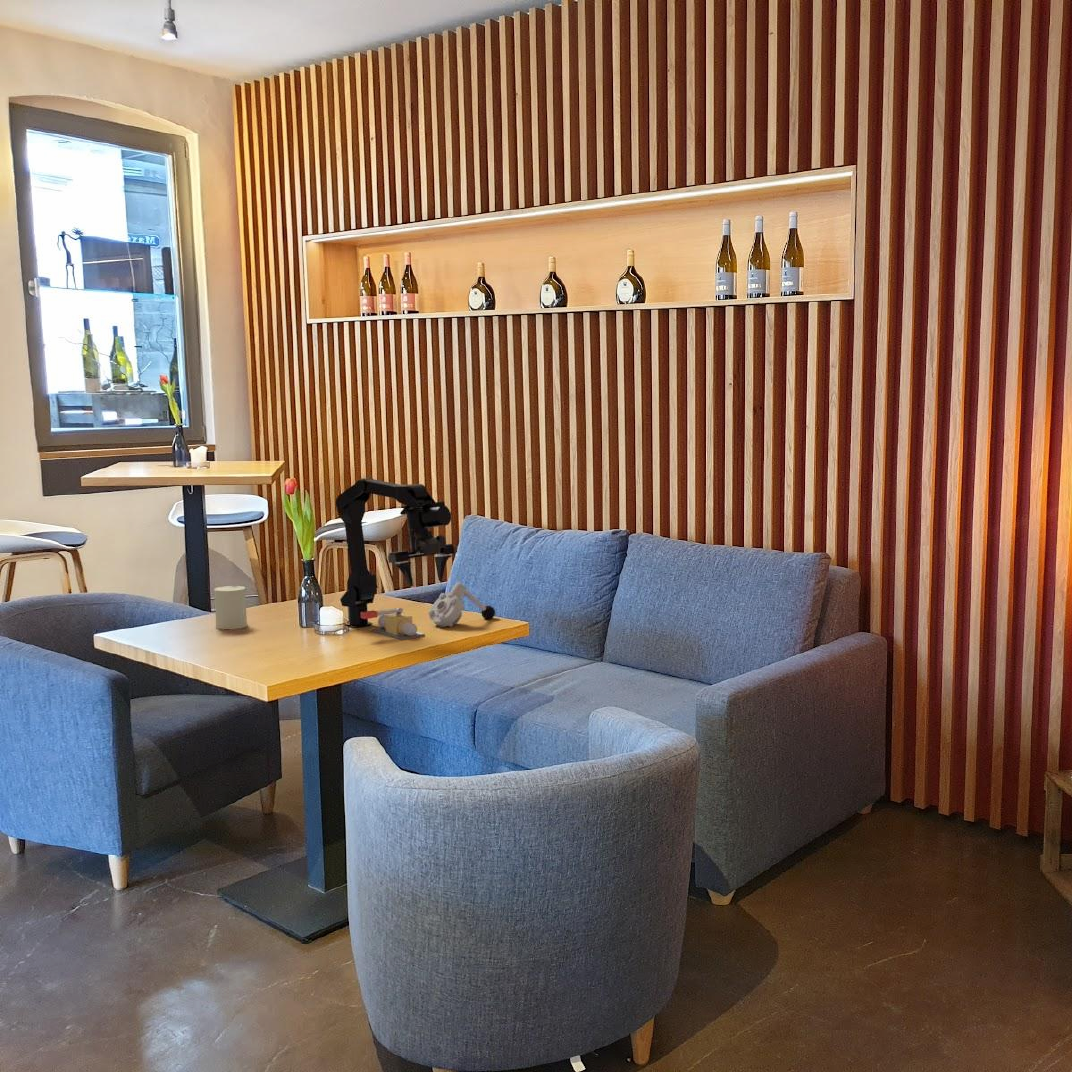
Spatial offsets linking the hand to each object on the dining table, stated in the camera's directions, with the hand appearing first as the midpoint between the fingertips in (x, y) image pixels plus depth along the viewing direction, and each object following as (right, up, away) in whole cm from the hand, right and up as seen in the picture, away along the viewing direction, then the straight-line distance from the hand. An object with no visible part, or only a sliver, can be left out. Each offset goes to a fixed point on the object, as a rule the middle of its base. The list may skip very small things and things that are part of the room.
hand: (426, 583), depth 319 cm
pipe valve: (-8, -15, +4) cm, 17 cm away
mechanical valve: (+9, -13, +20) cm, 25 cm away
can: (-60, -14, +18) cm, 64 cm away
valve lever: (-12, -9, 0) cm, 15 cm away
